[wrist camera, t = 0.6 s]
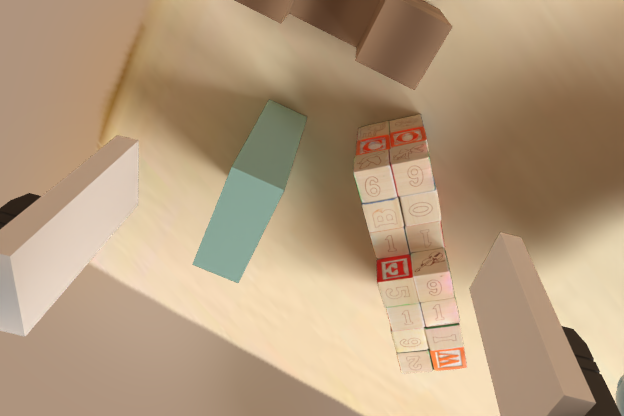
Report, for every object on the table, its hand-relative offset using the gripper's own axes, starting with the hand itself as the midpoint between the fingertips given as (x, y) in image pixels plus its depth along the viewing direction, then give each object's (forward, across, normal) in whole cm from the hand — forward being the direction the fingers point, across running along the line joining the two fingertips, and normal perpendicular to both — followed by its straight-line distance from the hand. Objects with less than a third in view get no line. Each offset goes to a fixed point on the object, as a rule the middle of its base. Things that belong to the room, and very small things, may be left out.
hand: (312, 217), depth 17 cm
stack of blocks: (+28, -10, +15) cm, 34 cm away
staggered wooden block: (+28, +2, -4) cm, 28 cm away
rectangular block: (+28, +5, +12) cm, 31 cm away
